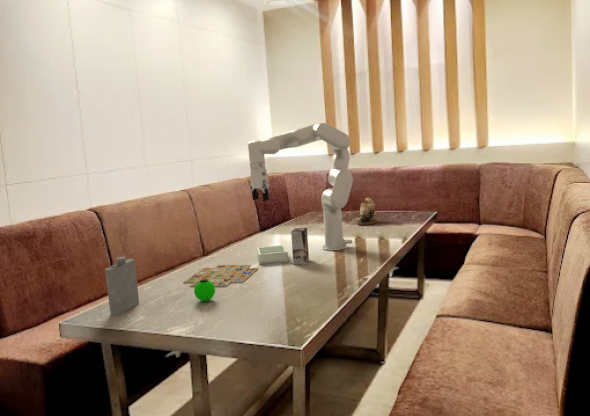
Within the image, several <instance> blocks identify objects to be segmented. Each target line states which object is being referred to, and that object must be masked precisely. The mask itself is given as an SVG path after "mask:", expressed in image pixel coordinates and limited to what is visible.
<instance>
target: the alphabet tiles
mask: <svg viewBox="0 0 590 416" xmlns="http://www.w3.org/2000/svg"><path fill="white" fill-rule="evenodd" d="M258 269H259V268H258V267H251V264H218V265H216V266H215V267H203V268H201V269H199V270H198V271H196V273H194V274H192V275H191V276H190V277H188V278H187V279H185V280H184V281H183V284H190V285H189V287H190V288H194V287H195V285H196V284H197V283H198V282H199V281H200V280H202V279H204V278H205V279H207V280H208V281H211V282H212V283H213V285H214V287H215V288H219V287H220V288H227V287H228V286H229V285H230V284H243V283H245V281H246V280H248V279H249V278H251V276H253V274H254V273H255V272H257V271H258ZM202 275H205V277H203V278H202V277H201V276H202Z"/></svg>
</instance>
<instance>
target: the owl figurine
mask: <svg viewBox="0 0 590 416" xmlns="http://www.w3.org/2000/svg"><path fill="white" fill-rule="evenodd" d="M359 208H360V209H359V212H360V213H359V214H360V216H359V220H358V222H357V226H360V227H369V226H373V225H376V224H378V220H377V219H376V218H374V217H375V212H376V203H375V202H374V200H373V199H372V198H370V197H366V198H365V199H364V202H363V203H360V207H359Z"/></svg>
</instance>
